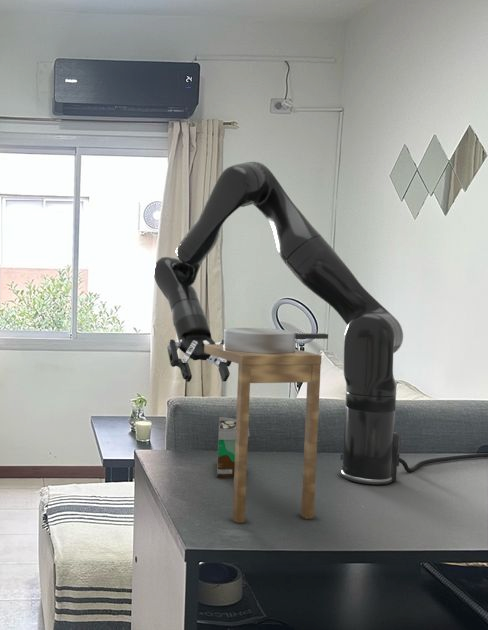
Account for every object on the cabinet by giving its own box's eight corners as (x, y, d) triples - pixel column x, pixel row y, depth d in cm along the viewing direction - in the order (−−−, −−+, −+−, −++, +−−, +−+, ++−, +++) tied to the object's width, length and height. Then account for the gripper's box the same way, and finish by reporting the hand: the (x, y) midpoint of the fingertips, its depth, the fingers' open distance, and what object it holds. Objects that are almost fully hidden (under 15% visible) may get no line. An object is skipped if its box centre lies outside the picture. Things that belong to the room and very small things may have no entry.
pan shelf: (297, 488, 141) (304, 327, 139) (345, 517, 126) (353, 335, 123) (199, 492, 137) (204, 326, 135) (236, 523, 122) (243, 335, 119)
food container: (249, 482, 145) (251, 431, 144) (217, 479, 146) (219, 429, 145) (247, 465, 157) (249, 418, 156) (217, 463, 158) (219, 416, 157)
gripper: (165, 312, 170) (181, 369, 160) (223, 313, 173) (243, 369, 163) (157, 333, 176) (172, 389, 166) (214, 333, 179) (232, 389, 169)
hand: (207, 379), depth 164 cm, fingers open, 8 cm apart
